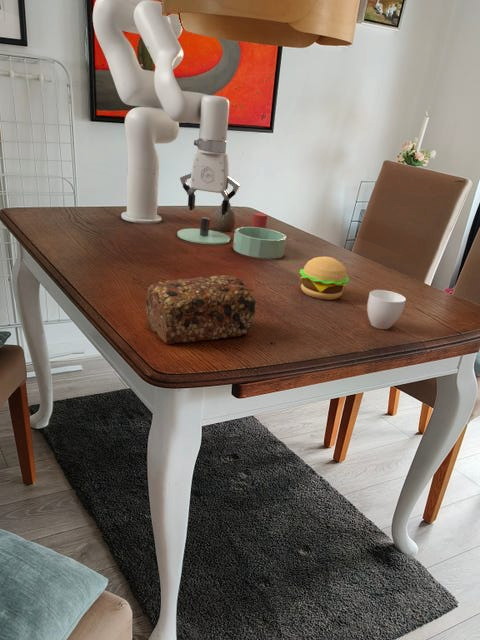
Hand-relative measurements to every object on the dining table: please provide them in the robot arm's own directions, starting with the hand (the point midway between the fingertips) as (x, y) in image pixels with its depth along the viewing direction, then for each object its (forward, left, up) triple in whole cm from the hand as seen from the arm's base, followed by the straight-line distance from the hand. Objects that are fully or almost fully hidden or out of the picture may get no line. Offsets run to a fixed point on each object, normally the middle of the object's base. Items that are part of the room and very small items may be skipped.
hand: (207, 211), depth 169 cm
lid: (0, -1, -7) cm, 7 cm away
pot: (+4, +17, -8) cm, 19 cm away
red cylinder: (-15, +13, -8) cm, 21 cm away
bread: (+69, +18, -8) cm, 72 cm away
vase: (-15, +2, -8) cm, 17 cm away
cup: (+45, +52, -8) cm, 69 cm away
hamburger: (+31, +38, -8) cm, 50 cm away
